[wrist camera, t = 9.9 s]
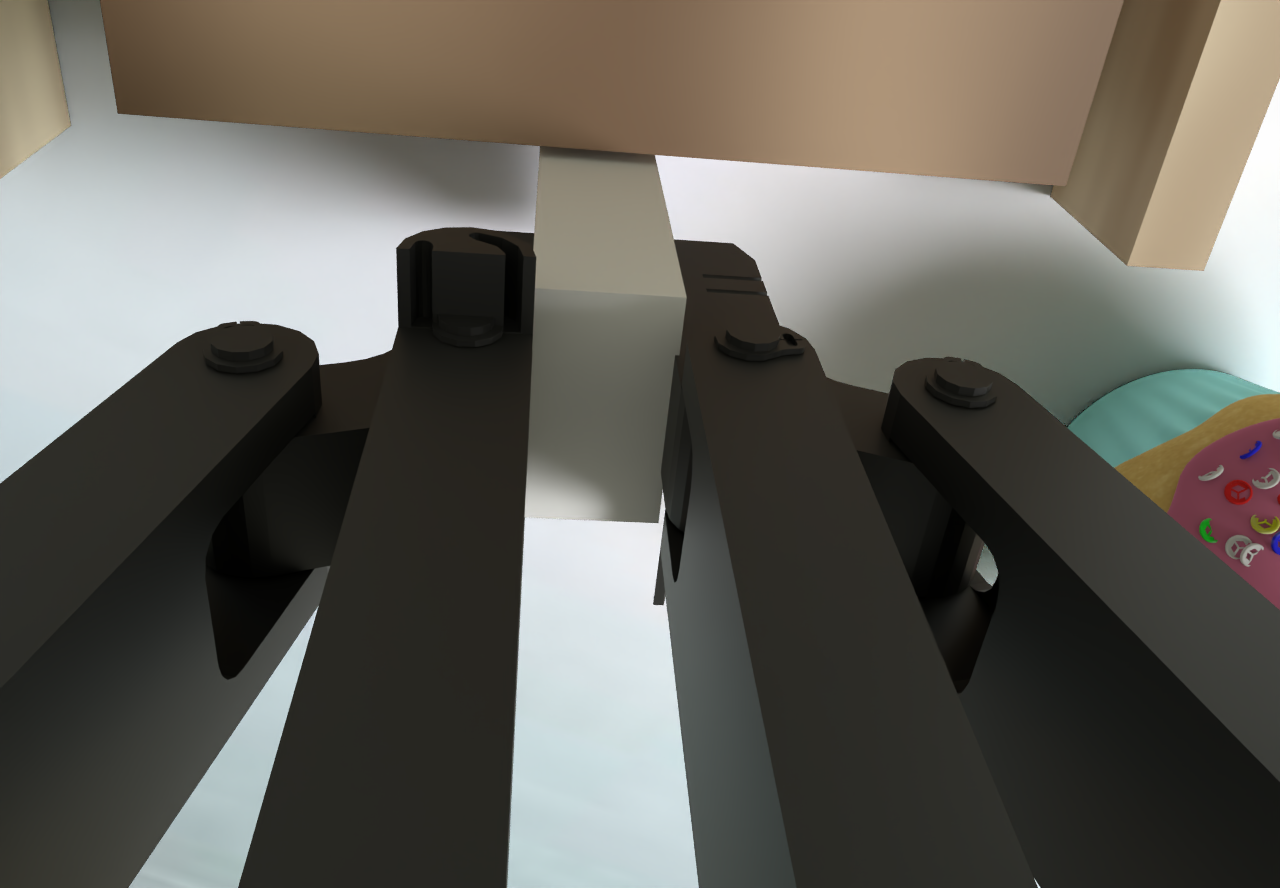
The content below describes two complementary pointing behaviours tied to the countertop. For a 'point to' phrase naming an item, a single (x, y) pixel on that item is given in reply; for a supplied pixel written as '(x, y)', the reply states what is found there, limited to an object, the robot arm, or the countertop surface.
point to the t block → (643, 75)
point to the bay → (1094, 194)
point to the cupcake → (1201, 460)
